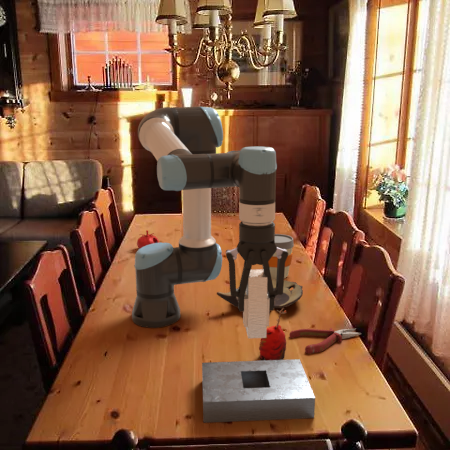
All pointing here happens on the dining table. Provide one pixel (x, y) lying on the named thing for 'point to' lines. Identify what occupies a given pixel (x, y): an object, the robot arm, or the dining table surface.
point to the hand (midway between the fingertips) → (255, 323)
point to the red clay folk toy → (273, 343)
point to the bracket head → (256, 391)
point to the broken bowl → (280, 300)
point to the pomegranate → (146, 240)
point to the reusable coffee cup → (280, 242)
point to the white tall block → (257, 304)
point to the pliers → (323, 333)
